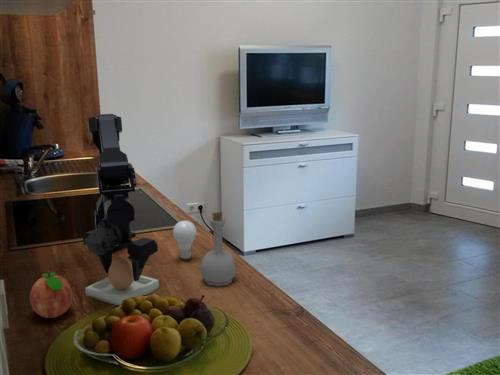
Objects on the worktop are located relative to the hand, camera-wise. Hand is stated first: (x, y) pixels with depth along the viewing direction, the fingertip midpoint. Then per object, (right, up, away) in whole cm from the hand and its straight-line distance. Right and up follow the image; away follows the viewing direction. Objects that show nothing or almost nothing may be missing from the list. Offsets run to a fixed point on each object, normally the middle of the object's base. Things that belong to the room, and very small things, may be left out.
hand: (122, 276), depth 124 cm
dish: (0, -4, +1) cm, 4 cm away
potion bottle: (+23, -2, +7) cm, 24 cm away
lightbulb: (+13, +1, +21) cm, 24 cm away
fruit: (-13, -7, -10) cm, 17 cm away
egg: (0, -3, +1) cm, 3 cm away
